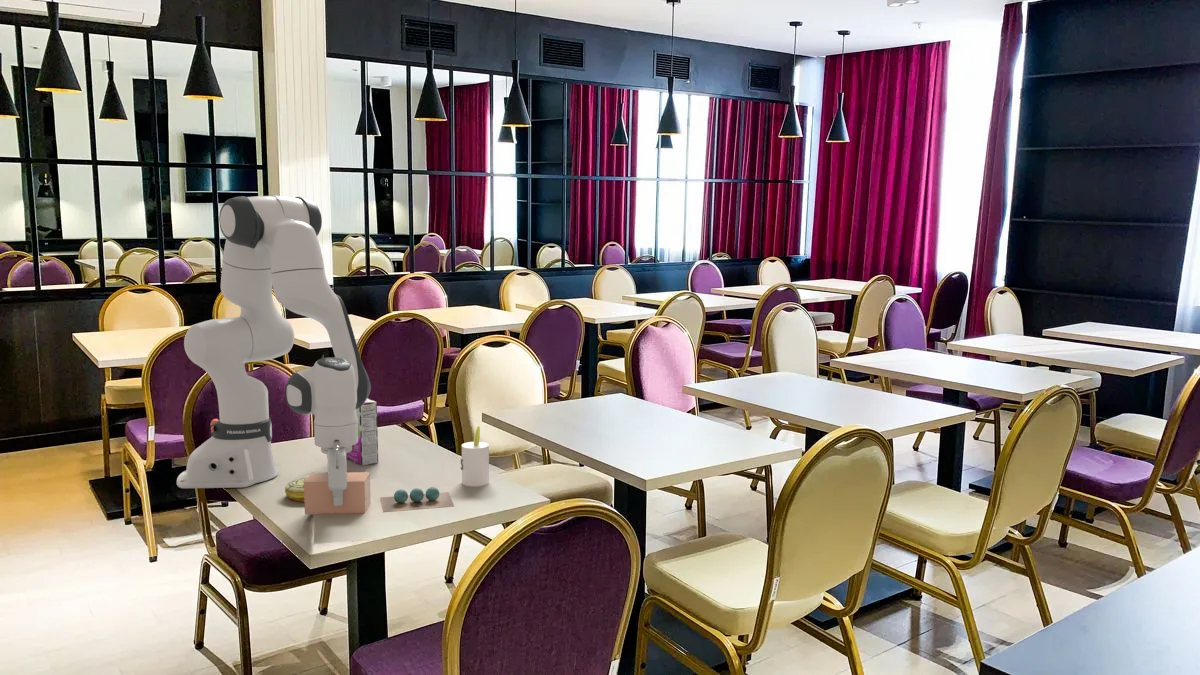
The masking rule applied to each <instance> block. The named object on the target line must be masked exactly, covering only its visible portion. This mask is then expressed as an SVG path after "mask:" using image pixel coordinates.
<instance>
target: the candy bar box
mask: <svg viewBox="0 0 1200 675" xmlns="http://www.w3.org/2000/svg"><path fill="white" fill-rule="evenodd" d="M377 410H378V402H377V401H375V400H373V399H370V398H369V397H368V398H367V400H366V401H365V402H364V404H363V405H362V406H361V407H360V408H358V409H355V411H356V415H357V419H358V442H357V443H356V444H355V445H352V450H351V451H350V452H348V453H347V454H346V459H348V460H350V461H352V462H354V463H356V464H358V465H359V466H361V467H364V466H370V465H375V464H378V463H379V440H378V432H379V430H378V411H377Z"/></svg>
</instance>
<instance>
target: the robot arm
mask: <svg viewBox="0 0 1200 675" xmlns="http://www.w3.org/2000/svg"><path fill="white" fill-rule="evenodd" d="M218 216H219V217H218V222H219V223H218V224H219V229H220V231H221V234H222V235H223V236H224V238H225V244H224V248H223V254H222V255H223V256H222V257H223V258H222V264H221V265H222V268H221V276H220V278H221V279H220V291H221V294H222V295H223V296H224V298H225V300H227V301H229V302H230V303H232V304H234V305H236V306H238V307H239V308H240V314H239V316H238V317H237V316H236V317H227V318H215V319H214V318H213V319H209V320H204V321H201V322H198V323H195V324H192V325H191V326H190V327H189V328H188V329H187V331H186V334H185V336H184V340H183V346H184V351H185V353H186V355H187V357H188V359H189V360H190V361H191V362H192V363H193V364H195V365H197V366H198V367H200V369H201V368H202V370H203V371H205V372H206V374H208V376H209V377H210V378H211V380H212V382H213V384H214V386H215V387H214V388H215V390H216V395H217V402H218V412H219V413H218V414H219V419H218V418H213V419H212V420H211V421H210V435H211V437H210V438H208V439H207V440H205V441H204V442H203V443H201V445H199V446H198V447H197V448H195V449H194V450H193V451H192V452H191V454H190V455H189V457H188V459H187V463H186V470H184V471H182V472H181V473H179V475H178V476H177V478H176V485H177V487H178V488H180V489H215V488H216V489H220V488H222V489H225V488H226V489H227V488H248V487H250V486H253V485H254V484H258V483H261V482H265V481H269V480H271V479H273V478H275V477H277V476H278V475H279V471H278V468H277V465H276V462H275V459H274V454H273V449H272V438H273V431H272V430H273V429H272V428H273V426H272V420H271V417H270V415H269V414H270V413H269V390H268V388H267V386H266V385H265V383H264V382H263V381H262V380H260V379H258V378H255V377H253V376H250V375H248V373H247V371H246V366H245V364H246V363H251V362H252V363H253V362H260V361H261V362H263V361H269V360H274V359H276V358H280V357H282V356H284V355H286V354H288V353H290V351H291V350H292V348H293V346H294V343H295V333H294V332H295V331H294V328H293V326H292V324H291V323H290V321H289V320H288V319H287V318H286V317H285V316H282V315H281V313H280V312H279V311H278V309H277V307H276V306H275V302H274V299H273V293H274V296H275V298H276V300H277V302H278V303H279V304H280V305H281V306H282V307H284V308H285V309H287V310H288V311H290V312H292V313H293V314H296V315H300V316H303V317H307V318H310V319H312V320H314V321H317V322H318V323H320V324H321V325H322V326H323V327H324V329H326V331H327V334H328V336H329V340H330V344H331V348H332V350H333V355H334V357H333V356H332V357H330V356H329V357H328V356H327V357H322V358H319V359H317V361H315V363H314V364H313V366H311V367H308V368H306V369H303V370H299V371H297V372H294V373H292V375H291V376H289V378H288V380H287V381H286V383H285V387H284V397H285V401H286V405H287V406H288V407H289V408H290V409H291V410H292V411H293V412H294V413H296V414H298V415H303V416H305V415H308V416H309V415H313V416H314V421H313V430H314V431H313V436H314V439H313V440H314V445H315V446H316V447H319V448H320V451H321V453H323V454H324V455H326V459H327V473H328V487H329V490H330V491H333V498H334V505H335V506H341V505H342V504H343V490H345V489H346V488H347V471H348V470H347V467H348V466H347V458H346V454H347V453H348V452H350V451H351V450H352V445H355V444H356V443H357V442H358V419H357V415H356V411H355V409H358V408H360V407H361V406H362V405H363V404H364V402H365V401H366V400H367V398H368V399H369V396H370V393H371V390H372V389H371V388H372V387H371V386H372V385H371V381H370V378H369V375H368V372H367V370H366V368H365V366H364V364H363V361H362V358H361V356H360V351H359V347H358V345H357V342H356V341H357V340H356V337H355V334H354V330H353V327H352V324H351V321H350V317H349V314H348V311H347V308H346V305H345V302H344V300H343V299H342V297H341V296H340V295H338V294H336V293H335V292H334V291H333V289H332V287H331V286H330V284H329V281H328V279H327V275H326V271H325V265H324V264H325V263H324V258H323V253H322V250H321V249H322V248H321V245H320V243H319V239H318V236H319V234H320V232H321V229H322V224H323V222H322V219H323V218H322V213H321V211H320V209H319V207H318V205H317V203H316V202H315V201H313V200H311V199H309V198H305V197H301V196H295V197H293V196H288V195H276V194H275V195H274V194H273V195H272V194H270V195H257V196H255V195H254V196H245V195H244V196H243V195H241V196H235V197H232V198H227V199H226V201H224V203H223V204H222V206H221V208H220V211H219V215H218Z"/></svg>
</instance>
